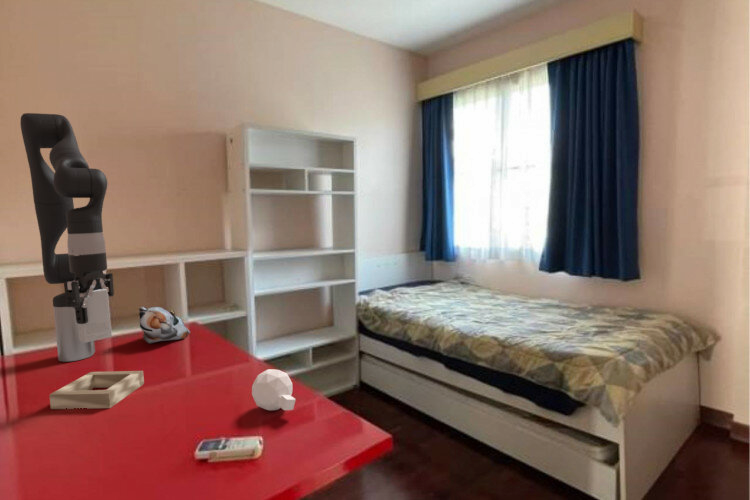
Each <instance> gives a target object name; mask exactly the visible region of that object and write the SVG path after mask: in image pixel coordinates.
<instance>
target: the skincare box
mask: <svg viewBox="0 0 750 500" xmlns="http://www.w3.org/2000/svg"><path fill="white" fill-rule="evenodd" d="M107 289H108V288H107ZM107 289H98V290H94V291H93V292H92V295H91V298H90V299H88V301H87V305H86V307H85V308H87V315H88V322H87V323H85V324H78V331H79V339H80V340H81V341H82V342H84V343H85V342H90V341H94V342H96V341H98V340H103V339H108V338H111V337H112V336H113V333H112V325H111V314H110V306H109V305H110V303H109V300H108V293H107V292H108V291H107ZM79 294H80V295H81V294H86V293H81V292H80V293H79ZM82 299H83V298H80V302H82Z"/></svg>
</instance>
